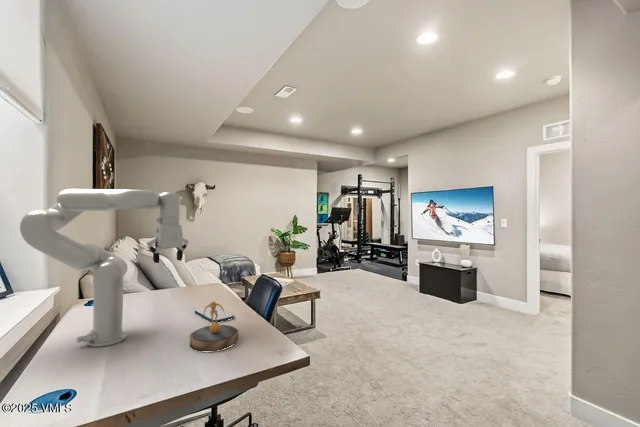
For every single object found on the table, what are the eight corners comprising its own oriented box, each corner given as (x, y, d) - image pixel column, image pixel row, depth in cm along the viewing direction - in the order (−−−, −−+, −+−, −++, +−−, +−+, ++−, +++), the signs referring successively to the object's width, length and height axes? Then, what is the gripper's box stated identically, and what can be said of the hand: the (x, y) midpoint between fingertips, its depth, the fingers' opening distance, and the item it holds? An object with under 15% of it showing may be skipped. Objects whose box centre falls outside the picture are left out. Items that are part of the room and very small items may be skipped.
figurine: (205, 337, 112) (206, 305, 112) (200, 332, 117) (201, 301, 117) (226, 332, 117) (227, 301, 117) (221, 327, 122) (222, 298, 122)
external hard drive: (192, 313, 152) (192, 309, 152) (213, 308, 161) (213, 305, 161) (213, 325, 136) (214, 321, 136) (236, 319, 144) (236, 315, 144)
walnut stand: (207, 357, 104) (207, 345, 104) (180, 343, 115) (180, 333, 115) (247, 340, 119) (247, 330, 119) (220, 330, 129) (220, 320, 129)
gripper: (152, 221, 117) (151, 264, 116) (193, 221, 131) (192, 260, 130) (143, 221, 121) (142, 262, 121) (184, 221, 135) (182, 258, 135)
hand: (168, 261), depth 126 cm, fingers open, 9 cm apart
